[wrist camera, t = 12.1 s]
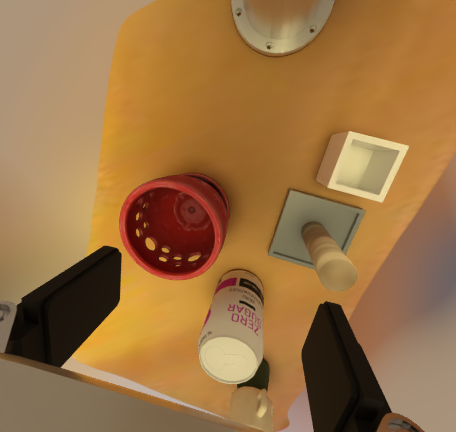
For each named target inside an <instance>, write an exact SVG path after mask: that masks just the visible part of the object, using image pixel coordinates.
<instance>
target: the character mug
mask: <svg viewBox="0 0 456 432" xmlns="http://www.w3.org/2000/svg"><path fill="white" fill-rule="evenodd" d="M268 382H269V366H268V364H267V363H266V361H264V360H262V361H261V363H260V365H259V367H258V368H257V370H256V372H255V374H254V376H253V377H252V378H250V379H249V380H248V381H246V382H243V383H239V384H237V388H238V389H236V390H235V391H234V392H233V394H232V397H231V401H230V408H229V415H228V420H231V421H234V422H237V423H240V424H243V425H247V426H250V427H253V428H256V429H259V430H262V431H265V432H274V429H273V424H272V415H273V406H272V402H271V401H270V399H269V398H268V396H267V389H268Z"/></svg>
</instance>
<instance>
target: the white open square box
mask: <svg viewBox="0 0 456 432" xmlns="http://www.w3.org/2000/svg"><path fill="white" fill-rule="evenodd" d="M408 148H409V146H407V145H403V144H399V143H395V142H391V141H387V140H383V139H379V138H375V137H371V136H367V135H363V134H359V133H355V132H351V131H347V132H343V133H338V134H334V135H332V136H331V139H330V142H329V144H328V147H327V150H326V152H325V155H324V158H323V161H322V163H321V166H320V169H319V171H318V174H317V177H316V179H315V180H316V181H317V182H319V183H321V184H322V185H324V186H325V187H327V188H331V189H334V190H338V191H342V192H345V193H349V194H353V195H356V196H360V197H364V198H367V199H371V200H375V201H378V202H383V200H384V198H385V196H386V194H387V192H388V190H389V188H390V185H391V183H392V181H393V179H394V177H395V175H396V173H397V171H398V169H399V167H400V165H401V162H402V160H403V158H404V156H405V154H406V152H407V150H408Z"/></svg>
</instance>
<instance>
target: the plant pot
mask: <svg viewBox="0 0 456 432" xmlns="http://www.w3.org/2000/svg"><path fill="white" fill-rule="evenodd" d="M138 200H139V201H138ZM145 203H146V204H145ZM144 204H145V206H144ZM143 206H144V208H143ZM138 212H139V218H138V220H136V215H137V213H138ZM228 219H229V203H228V199H227V197H226V195H225V193H224V191H223V190H222V188H221V187H220V186H219V185H218V184H217V183H216V182H215V181H214V180H212V179H211V178H209V177H207V176H204V175H201V174H197V173H186V174H181V175H173V176H167V177H162V178H158V179H154V180H151V181H149V182H146V183H144V184H142V185H140V186H139V187H137V188H136V189H134V190H133V191H132V192H131V193H130V194H129V196H128V197H127V198H126V200H125V202H124V204H123V206H122V209H121V213H120V219H119V227H120V234H121V238H122V241H123V244H124V246H125V248H126V250H127V251H128V253H129V254H130V256H131V257H132V258H133V260H134V261H135V262H136V263H137V264H138V265H139V266H141V267H142V268H143V269H145V270H146V271H148V272H149V273H151V274H153V275H156V276H158V277H161V278H164V279H169V280H187V279H191V278H194V277H197V276H199V275H201V274H203V273H204V272H205V271H207V270H208V269H209V268H210V267H211V266H212V265H213V264H214V262H215V260H216V259H217V257H218V255H219V253H220V251H221V249H222V246H223V244H224V240H225V237H226V233H227V226H228ZM144 222H145V224H146V228H144ZM136 229H138V230H139V234H140V235H139V237H138V236H137V234H136ZM146 238H150V239H151V240H152V241H153V242H154V244H155V250H154V251H152V250H149V249H148V248H147V246H146V243H145V240H146ZM161 248H167V249H168V250H169V253H165V252H163V251H162V250H161ZM195 255H201V256H200V258H199V259H197V260H195V261H188V259H189V258H190V257H192V256H195ZM159 257H164V258H166V259H167V261H166V262H163V261H161V260H159ZM174 257H181V258H182V259H181V260H175V259H173V258H174ZM176 265H180V266H176Z"/></svg>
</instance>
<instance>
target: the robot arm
mask: <svg viewBox="0 0 456 432" xmlns="http://www.w3.org/2000/svg"><path fill="white" fill-rule="evenodd" d="M334 2H335V0H231V8H232V13H233V18H234V22H235V25H236V28H237V30H238V32H239V34H240V36H241V37H242V38H243V40H244V41H245V42H246V43H247V44H248V45H249V46H250V47H251V48H252V49H254V50H255V51H257V52H259V53H261V54H264V55H268V56H285V55H289V54H292V53H295V52H297V51H299V50H300V49H302V48H304V47H305V46H307V45H308V44H309V43H310V42H311V41H312V40H314V38H315V37H316V36H317V35H318V34H319V32H320V31H321V30H322V28H323V27H324V25H325V23H326V22H327V20H328V17H329V15H330V13H331V11H332V8H333V5H334ZM239 14H241V16H238V15H239ZM311 30H313V32H314V33H311V32H310V31H311ZM267 47H270V48H271V49H270V50H267ZM121 257H122V255H121V253H120V252H119V250H118V249H117V248H114V247H110V246H103V247H102V248H100V249H98V250H97V251H95V252H94V253H92V254H90V255H89V256H87V257H86V258H84V259H83V260H81V261H79V262H78V263H76V264H75V265H73V266H72V267H70V268H69V269H67V270H65V271H64V272H62V273H61V274H59V275H58V276H56V277H54V278H53V279H51V280H50V281H48V282H46V283H45V284H43V285H42V286H40V287H38V288H37V289H35V290H34V291H32V292H31V293H29V294H28V295H26V296H24V297H23V298H22V302H21V303H20V304H18V305H17V306H16V305H15V304H14V303H12V302H9V301H0V432H265V431H262V430H259V429H256V428H253V427H250V426H247V425H243V424H240V423H237V422H234V421H231V420H228V419H225V418H221V417H218V416H215V415H212V414H209V413H205V412H202V411H199V410H196V409H193V408H189V407H186V406H183V405H180V404H177V403H173V402H170V401H167V400H164V399H160V398H157V397H154V396H151V395H147V394H144V393H141V392H137V391H135V390H132V389H128V388H125V387H122V386H118V385H115V384H112V383H109V382H105V381H102V380H99V379H95V378H92V377H88V376H85V375H82V374H79V373H76V372H72V371H69V370H66V369H62V368H60V367H61V366H62V365H63V364H64V363H65V362H66V361H67V360H68V359H69V358H70V357H71V356H72V354H73V353H74V352H75V351H76V350H77V349H78V348H79V347H80V346H81V345H82V343H83V342H84V341H85V340H86V339H87V338H88V337H89V336H90V335H91V334H92V333H93V331H94V330H95V329H96V328H97V327H98V326H99V325H100V324H101V323H102V322H103V321H104V319H105V318H106V317H107V316H108V315H109V314H110V313H111V312H112V311H113V310H114V309H115V307H116V306H117V305H118V303H119V300H120V282H121ZM302 363H303V369H304V375H305V381H306V387H307V393H308V399H309V404H310V411H311V417H312V422H313V429H314V432H424V431H423V430H422V429H421V428H420V427H419V426H418V425H417V424H415V423H414V422H412V421H411V420H410V419H408V418H407V417H404V416H402V415H400V414H397V413H392V411H391V409H390V407H389V405H388V403H387V401H386V399H385V396H384V394H383V392H382V390H381V388H380V386H379V384H378V381H377V380H376V377H375V375H374V373H373V371H372V369H371V367H370V364H369V362H368V360H367V358H366V356H365V354H364V352H363V349H362V347H361V346H360V344H359V343H358V342H357V340H356V338H355V335H354V333H353V331H352V329H351V327H350V325H349V323H348V320H347V318H346V316H345V314H344V312H343V309H342V307H341V306H340V305H339V304H335V303H331V302H327V301H326V302H325V303H324V304H320V305H319V307H318V310H317V312H316V315H315V317H314V320H313V323H312V325H311V328H310V330H309V333H308V336H307V338H306V341H305V343H304V346H303V349H302Z"/></svg>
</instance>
